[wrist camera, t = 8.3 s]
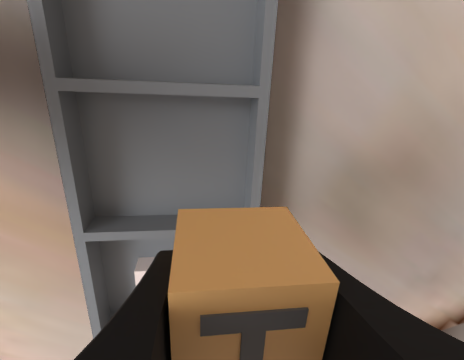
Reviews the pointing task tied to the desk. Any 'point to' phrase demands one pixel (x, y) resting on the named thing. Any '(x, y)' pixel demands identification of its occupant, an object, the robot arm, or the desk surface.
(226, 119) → the organizer
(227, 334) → the letter cube
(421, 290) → the desk surface
